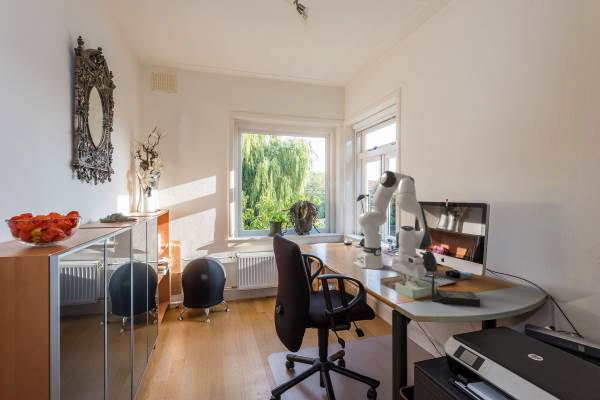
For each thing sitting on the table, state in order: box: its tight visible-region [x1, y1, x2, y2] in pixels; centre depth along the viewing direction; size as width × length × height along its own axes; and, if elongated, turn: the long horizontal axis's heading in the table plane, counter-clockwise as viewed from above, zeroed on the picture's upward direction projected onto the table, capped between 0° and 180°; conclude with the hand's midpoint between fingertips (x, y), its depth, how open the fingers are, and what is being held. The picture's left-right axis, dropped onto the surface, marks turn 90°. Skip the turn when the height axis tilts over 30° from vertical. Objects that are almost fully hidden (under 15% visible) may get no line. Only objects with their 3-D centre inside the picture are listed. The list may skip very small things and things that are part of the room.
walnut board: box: [379, 275, 417, 291], centre depth 161 cm, size 13×14×3 cm
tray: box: [394, 279, 438, 301], centre depth 149 cm, size 12×16×5 cm
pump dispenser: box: [419, 250, 438, 276], centre depth 181 cm, size 10×10×15 cm
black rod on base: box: [431, 267, 481, 308], centre depth 138 cm, size 20×14×17 cm
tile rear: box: [405, 281, 419, 289], centre depth 152 cm, size 5×5×2 cm
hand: (406, 282), depth 155 cm, fingers closed
